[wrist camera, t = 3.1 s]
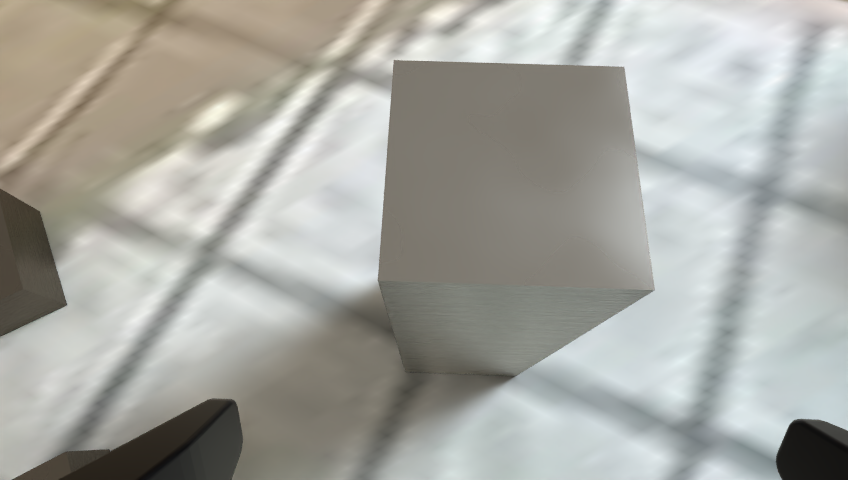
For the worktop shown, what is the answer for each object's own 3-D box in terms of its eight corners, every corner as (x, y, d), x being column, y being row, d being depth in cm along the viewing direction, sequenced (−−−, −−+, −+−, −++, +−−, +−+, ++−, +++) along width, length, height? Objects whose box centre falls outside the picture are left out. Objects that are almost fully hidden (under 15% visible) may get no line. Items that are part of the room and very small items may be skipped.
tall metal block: (516, 376, 20) (655, 289, 8) (405, 372, 20) (378, 280, 8) (513, 270, 22) (624, 66, 10) (410, 267, 22) (393, 60, 10)
